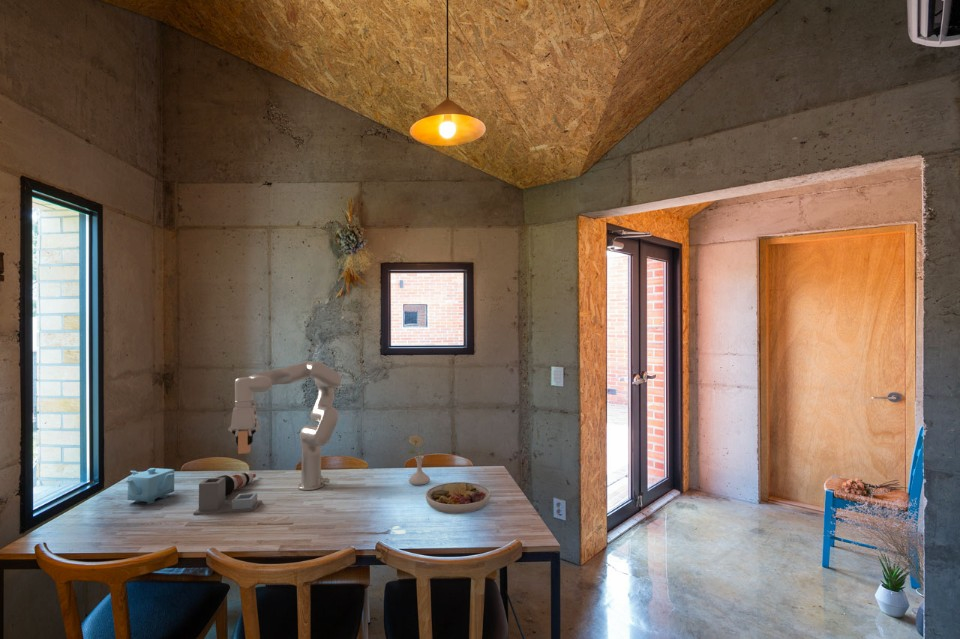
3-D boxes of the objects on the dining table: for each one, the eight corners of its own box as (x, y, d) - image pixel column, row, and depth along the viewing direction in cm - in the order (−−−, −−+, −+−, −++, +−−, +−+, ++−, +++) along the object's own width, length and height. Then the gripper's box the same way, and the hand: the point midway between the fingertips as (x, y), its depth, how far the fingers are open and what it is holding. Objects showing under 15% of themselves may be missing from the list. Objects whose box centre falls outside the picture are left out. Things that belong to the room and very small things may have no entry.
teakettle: (174, 490, 233) (174, 461, 233) (174, 501, 217) (174, 470, 218) (127, 498, 222) (127, 467, 223) (123, 510, 207) (124, 477, 207)
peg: (250, 450, 212) (250, 429, 212) (247, 453, 208) (247, 431, 208) (241, 451, 212) (241, 429, 212) (238, 453, 208) (238, 431, 208)
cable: (257, 488, 247) (266, 471, 248) (213, 506, 214) (224, 486, 214) (242, 479, 249) (251, 462, 249) (196, 494, 215) (207, 475, 216)
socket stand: (261, 502, 216) (261, 474, 216) (253, 511, 205) (253, 482, 205) (204, 505, 212) (204, 477, 212) (193, 515, 201) (193, 485, 201)
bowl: (412, 504, 213) (412, 487, 213) (458, 487, 235) (458, 472, 235) (457, 522, 192) (457, 503, 192) (503, 502, 214) (503, 485, 214)
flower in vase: (434, 482, 243) (434, 434, 243) (420, 488, 233) (420, 439, 234) (415, 478, 250) (415, 432, 250) (401, 484, 240) (401, 436, 241)
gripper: (266, 402, 215) (266, 441, 215) (228, 403, 213) (228, 443, 212) (260, 405, 208) (260, 445, 207) (221, 406, 205) (221, 447, 205)
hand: (244, 443), depth 210 cm, fingers closed on peg, 4 cm apart
